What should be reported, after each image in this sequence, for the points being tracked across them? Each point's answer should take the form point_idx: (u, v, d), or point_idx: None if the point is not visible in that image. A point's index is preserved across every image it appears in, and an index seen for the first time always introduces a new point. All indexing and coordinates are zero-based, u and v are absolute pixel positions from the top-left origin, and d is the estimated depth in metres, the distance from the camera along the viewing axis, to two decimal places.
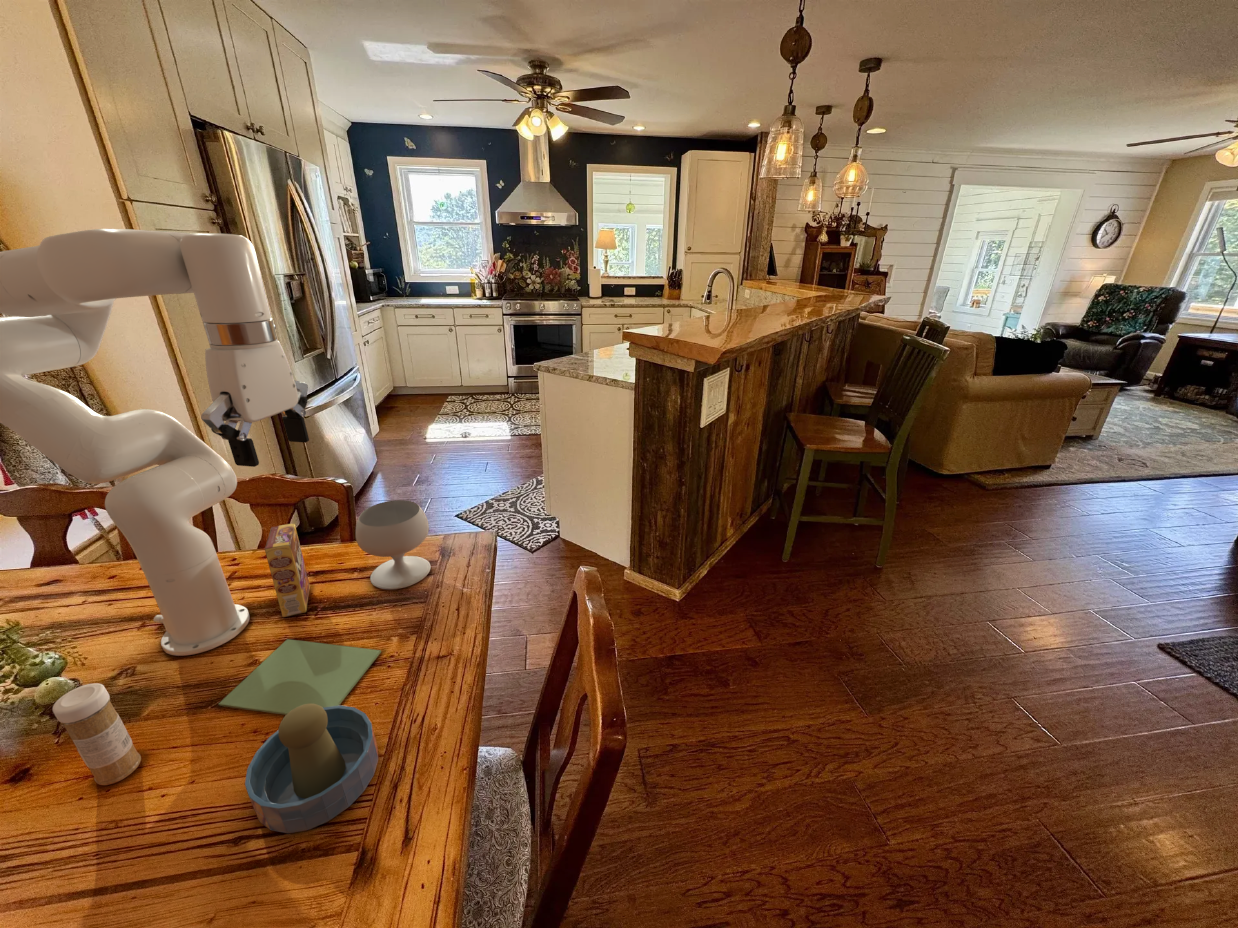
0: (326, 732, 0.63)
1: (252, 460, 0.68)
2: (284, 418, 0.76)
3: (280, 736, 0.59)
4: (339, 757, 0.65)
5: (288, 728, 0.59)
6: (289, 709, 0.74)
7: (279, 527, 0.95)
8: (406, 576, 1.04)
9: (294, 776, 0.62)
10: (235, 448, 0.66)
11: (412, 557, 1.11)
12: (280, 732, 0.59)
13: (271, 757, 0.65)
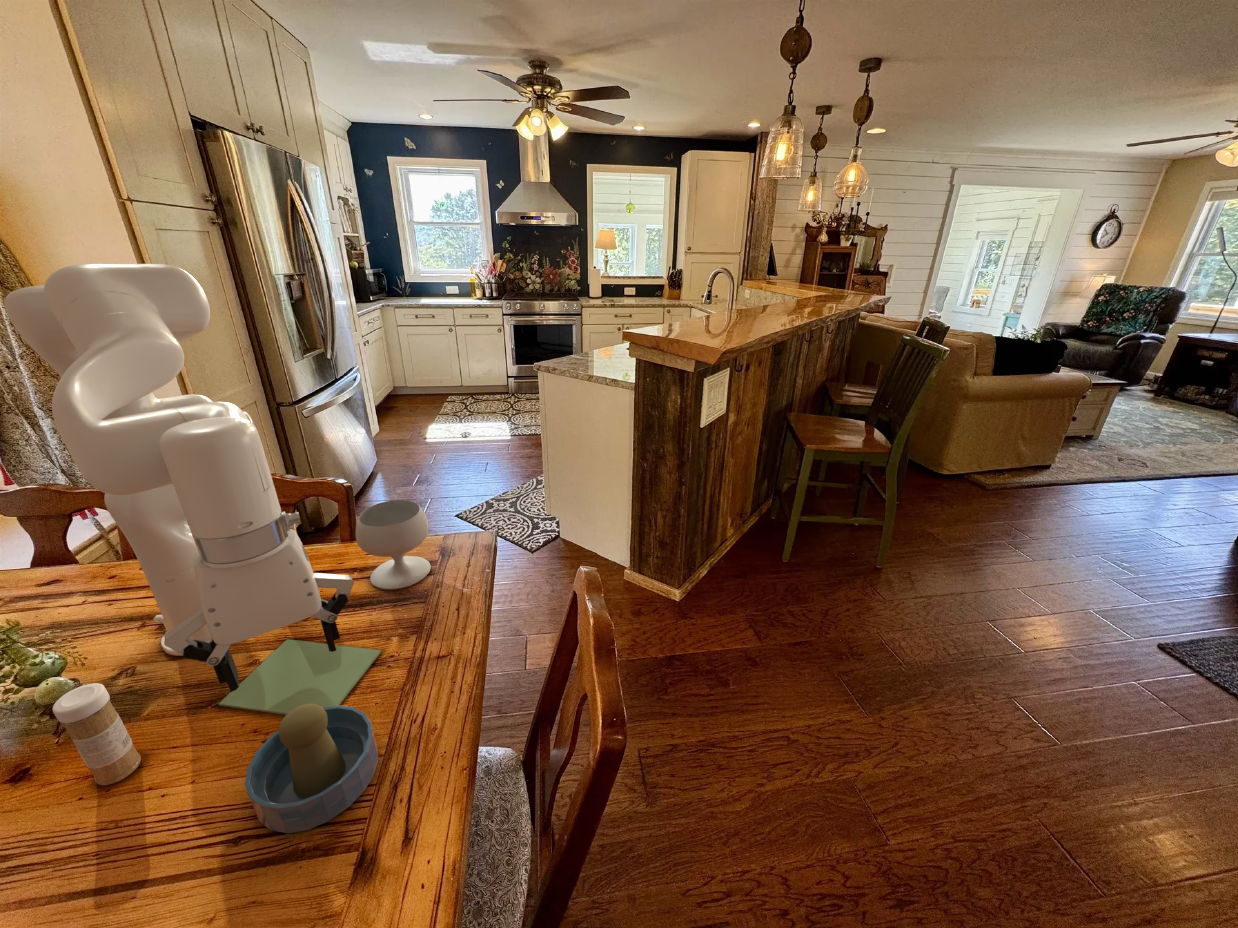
0: (326, 732, 0.63)
1: None
2: None
3: (280, 736, 0.59)
4: (339, 757, 0.65)
5: (288, 728, 0.59)
6: (289, 709, 0.74)
7: None
8: (406, 576, 1.04)
9: (294, 776, 0.62)
10: None
11: (412, 557, 1.11)
12: (280, 732, 0.59)
13: (271, 757, 0.65)
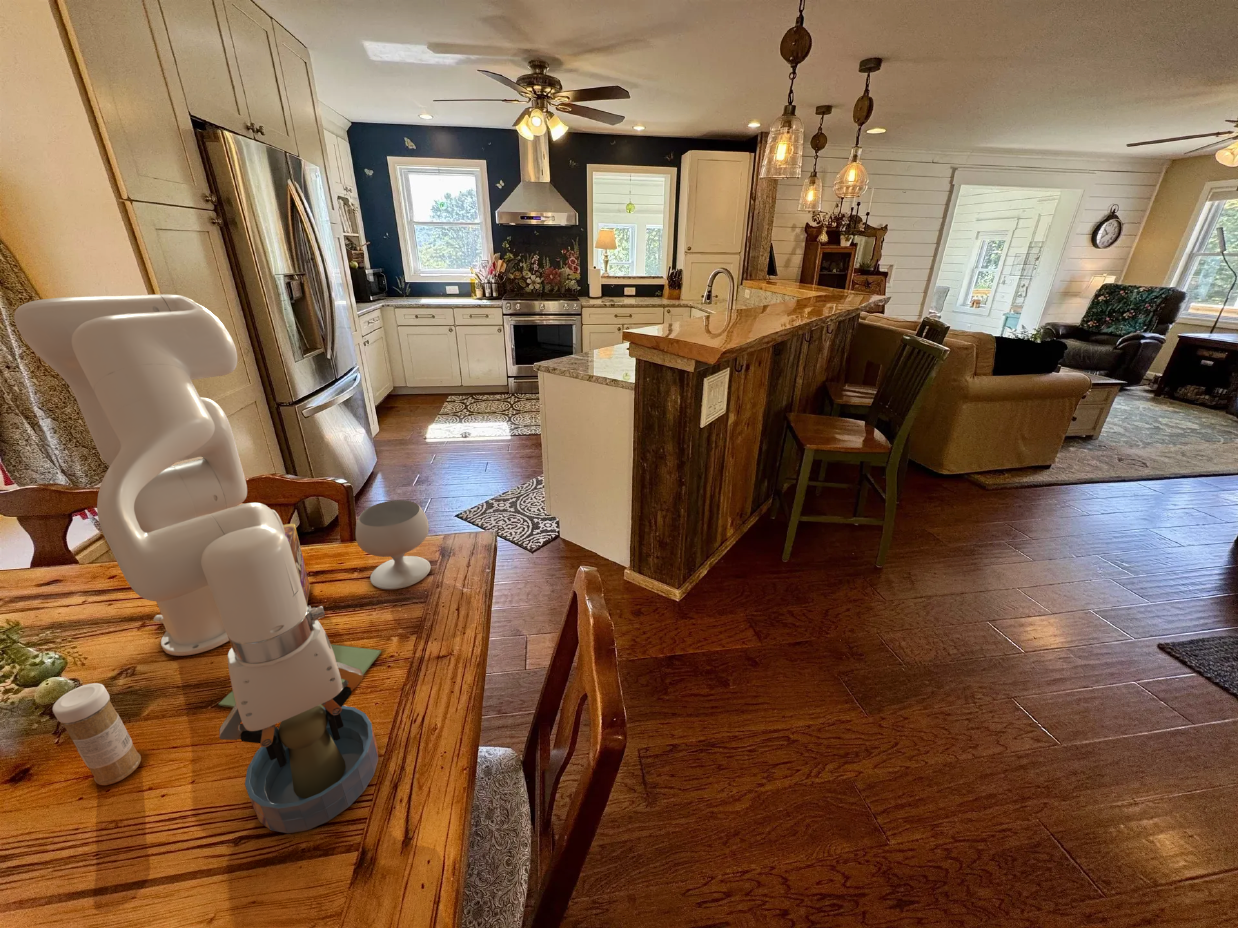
0: (326, 732, 0.63)
1: None
2: None
3: (280, 736, 0.59)
4: (339, 757, 0.65)
5: (288, 728, 0.59)
6: None
7: None
8: (406, 576, 1.04)
9: (294, 776, 0.62)
10: None
11: (412, 557, 1.11)
12: (280, 732, 0.59)
13: None
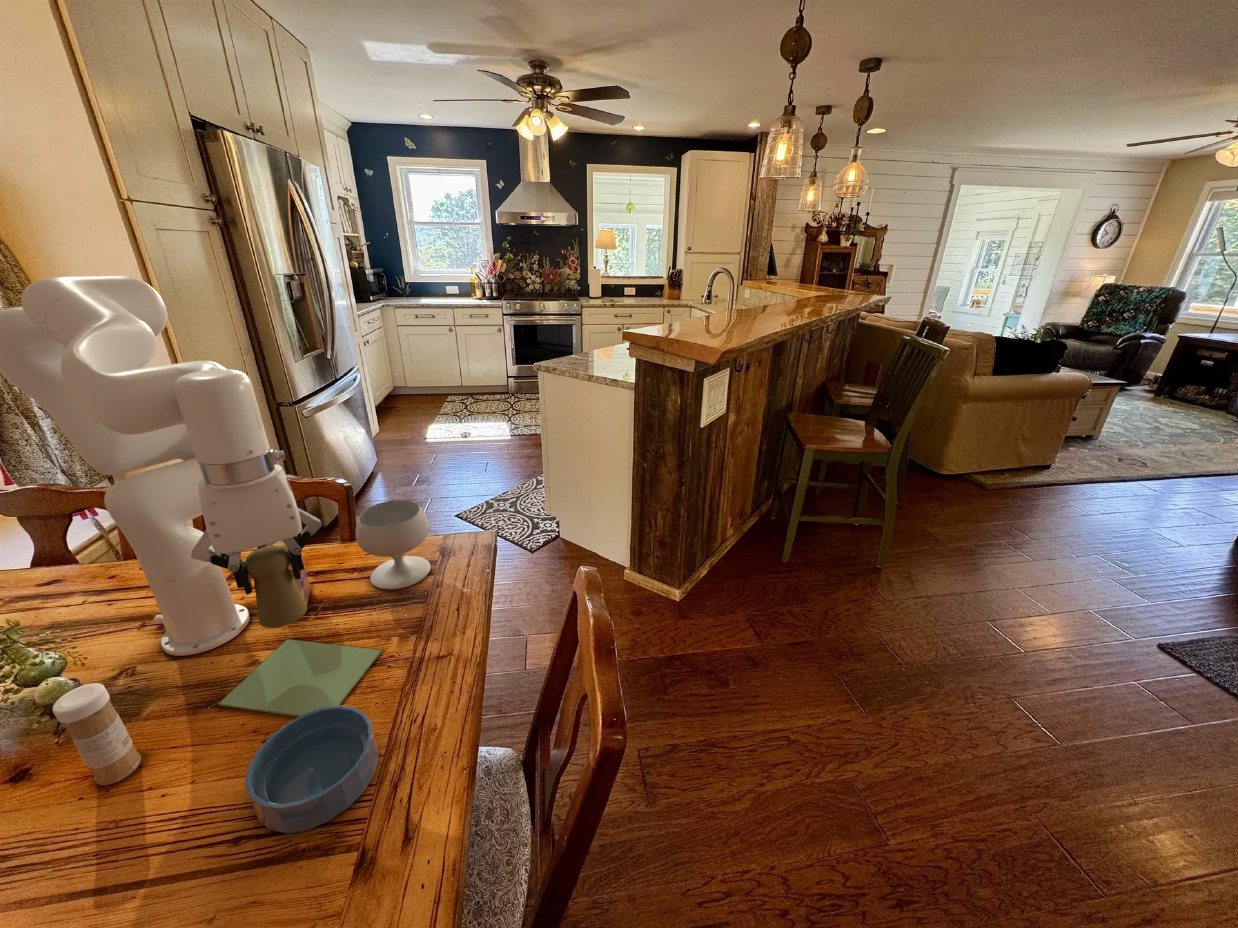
0: (288, 571, 0.71)
1: None
2: (288, 549, 0.72)
3: (246, 566, 0.68)
4: (301, 598, 0.73)
5: (253, 559, 0.68)
6: (289, 709, 0.74)
7: None
8: (406, 576, 1.04)
9: (259, 607, 0.70)
10: None
11: (412, 557, 1.11)
12: (246, 563, 0.68)
13: (271, 757, 0.65)
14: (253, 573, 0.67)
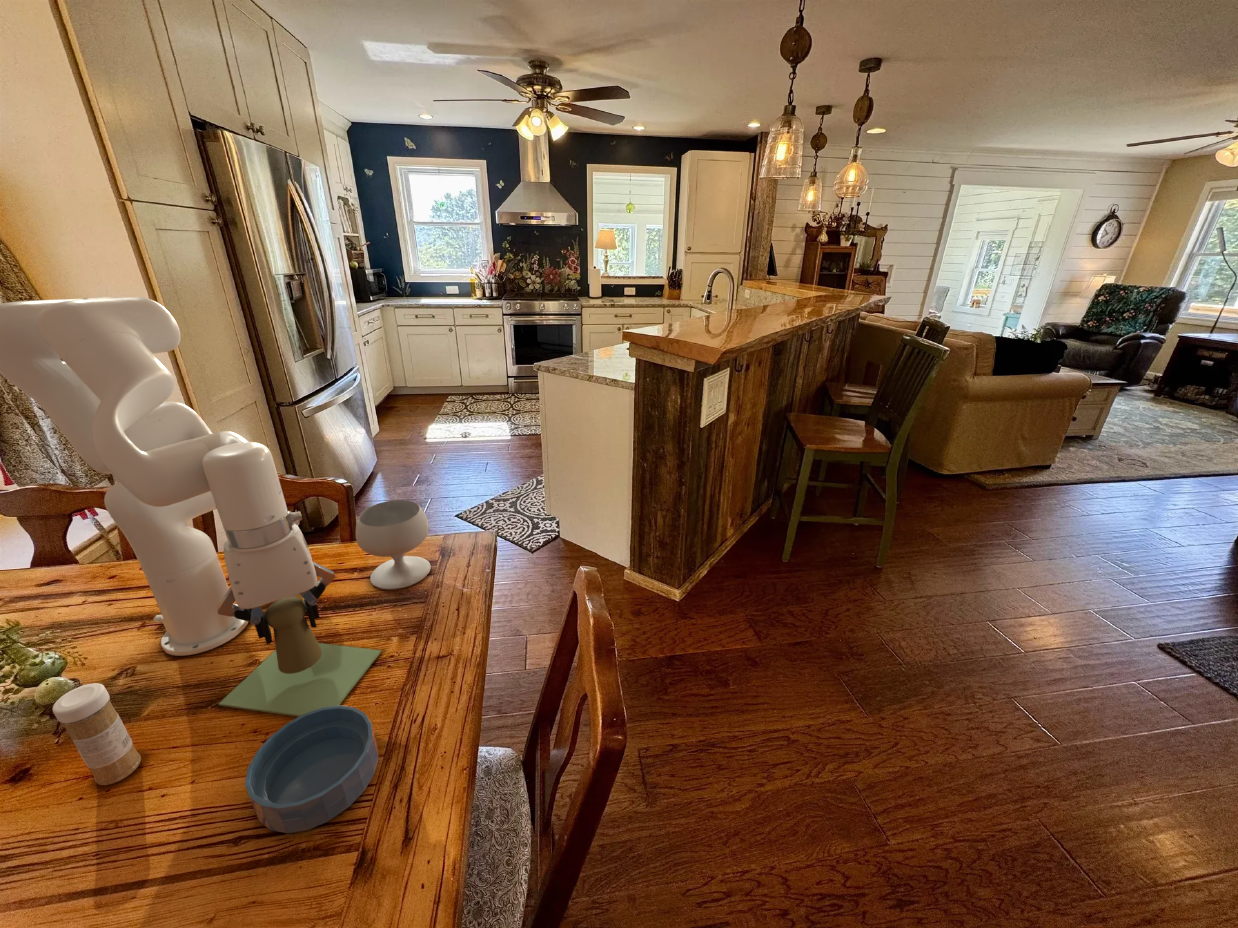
0: (305, 620, 0.77)
1: None
2: (304, 600, 0.78)
3: (266, 618, 0.73)
4: (316, 644, 0.79)
5: (272, 611, 0.73)
6: (289, 709, 0.74)
7: None
8: (406, 576, 1.04)
9: (278, 654, 0.76)
10: None
11: (412, 557, 1.11)
12: (266, 615, 0.73)
13: (271, 757, 0.65)
14: (273, 624, 0.73)
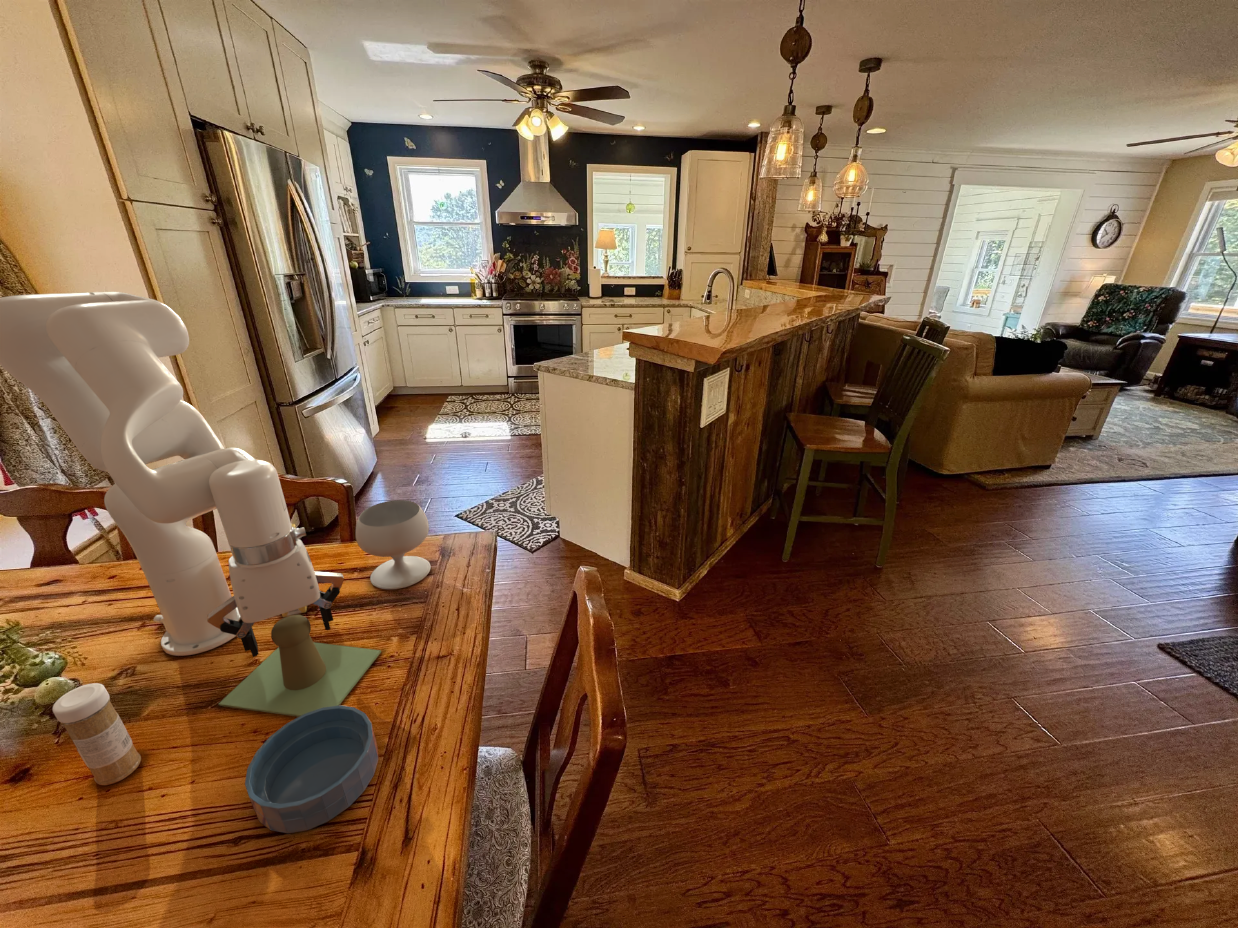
0: (310, 638, 0.78)
1: None
2: None
3: (272, 636, 0.75)
4: (320, 660, 0.80)
5: (278, 630, 0.75)
6: (289, 709, 0.74)
7: None
8: (406, 576, 1.04)
9: (284, 671, 0.77)
10: None
11: (412, 557, 1.11)
12: (272, 633, 0.75)
13: (271, 757, 0.65)
14: (279, 643, 0.74)
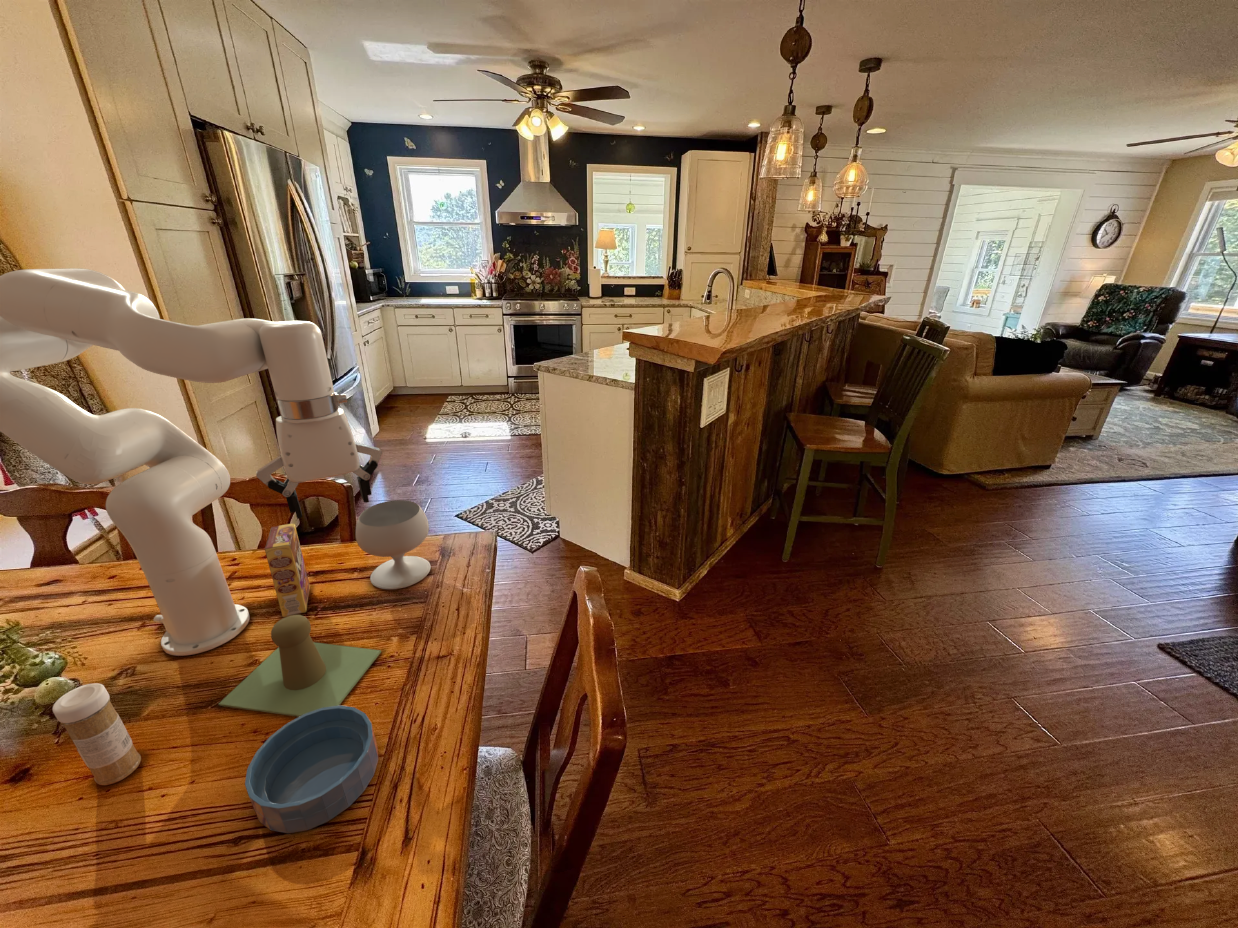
0: (310, 638, 0.78)
1: (296, 513, 0.77)
2: (357, 477, 0.83)
3: (272, 636, 0.75)
4: (320, 660, 0.80)
5: (278, 630, 0.75)
6: (289, 709, 0.74)
7: (279, 527, 0.95)
8: (406, 576, 1.04)
9: (284, 671, 0.77)
10: (287, 500, 0.77)
11: (412, 557, 1.11)
12: (272, 633, 0.75)
13: (271, 757, 0.65)
14: (279, 643, 0.74)
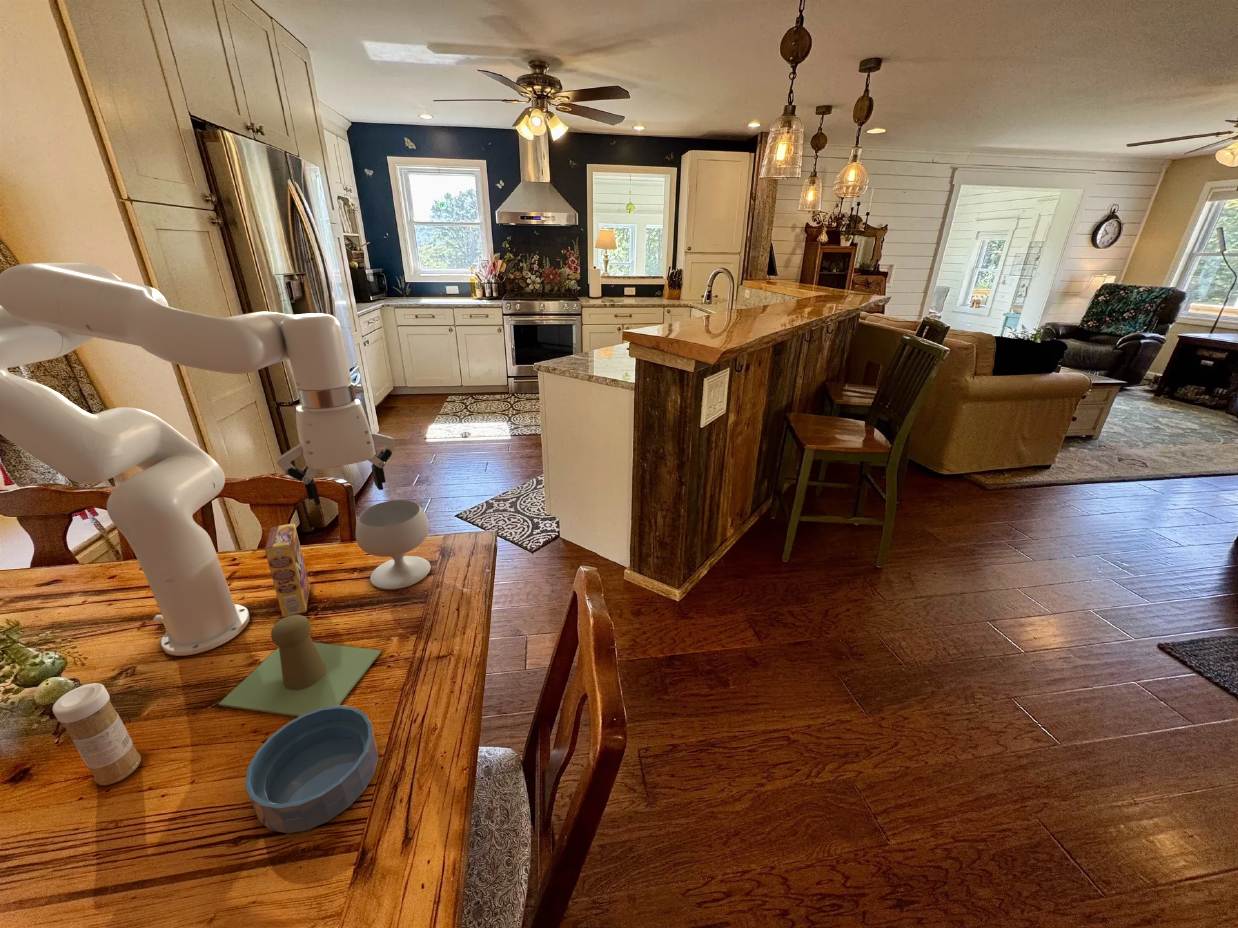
0: (310, 638, 0.78)
1: (314, 500, 0.79)
2: (372, 465, 0.86)
3: (272, 636, 0.75)
4: (320, 660, 0.80)
5: (278, 630, 0.75)
6: (289, 709, 0.74)
7: (279, 527, 0.95)
8: (406, 576, 1.04)
9: (284, 671, 0.77)
10: (305, 487, 0.79)
11: (412, 557, 1.11)
12: (272, 633, 0.75)
13: (271, 757, 0.65)
14: (279, 643, 0.74)
